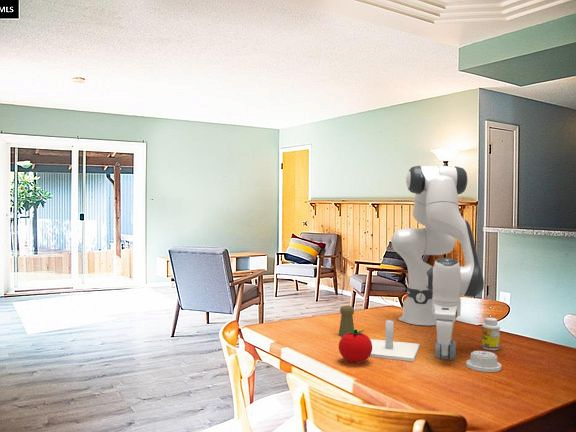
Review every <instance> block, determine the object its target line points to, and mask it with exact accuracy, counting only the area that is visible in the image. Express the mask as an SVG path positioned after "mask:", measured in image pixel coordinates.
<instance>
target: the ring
mask: <svg viewBox="0 0 576 432" xmlns="http://www.w3.org/2000/svg"><path fill="white" fill-rule="evenodd" d="M434 342H435V344H434V345H435V347H434V357H435V358H436V359H439V360H447V361H448V360H449V361H450V360H455V359H456V355H457V354H456V352H457V351H456V349H457V348H456V347H457V341H456V340H453V339H451V342H450V345H448V355H447V356H445V355H442V348H441V344H439V343H438V339H435V341H434Z"/></svg>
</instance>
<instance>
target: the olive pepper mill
mask: <svg viewBox="0 0 576 432" xmlns="http://www.w3.org/2000/svg"><path fill="white" fill-rule="evenodd" d="M339 312H340V315H341V316H340V322H339V323H340V324H339V328H338V329H339V330H338V336H339V337H341V338H342V337H343V336H344V335H345V334H347V333H349V332H352V331H351V329H353V330H355V326H354V317H353V316H354V314H355V308H354V307H353V306H351V305H342V306H340V309H339ZM346 331H347V332H346Z"/></svg>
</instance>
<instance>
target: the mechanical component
mask: <svg viewBox="0 0 576 432" xmlns="http://www.w3.org/2000/svg"><path fill="white" fill-rule="evenodd" d="M469 358H470V359H467V360H466V361H465V366H466V367H467V368H468V369H471V370H473V371H477V372H482V373H497V372H500V371H501V370H502V364H501V362H498V355H496V353H494V352H491V351H487V350H474V351H472V352H470V357H469Z"/></svg>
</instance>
